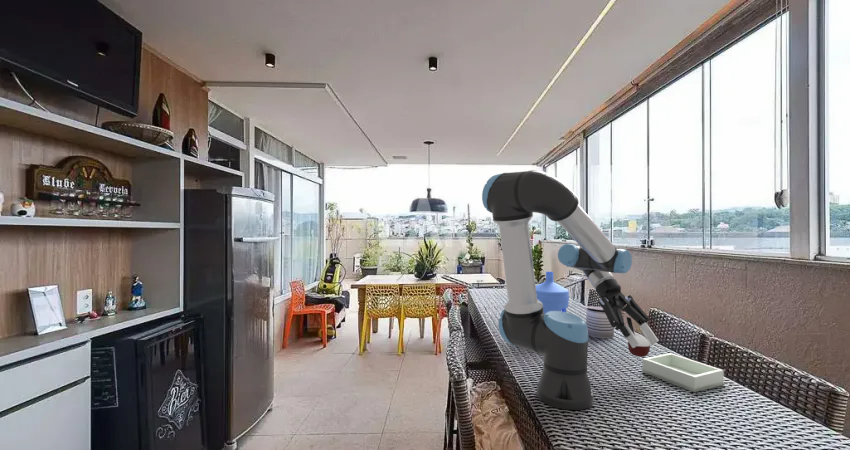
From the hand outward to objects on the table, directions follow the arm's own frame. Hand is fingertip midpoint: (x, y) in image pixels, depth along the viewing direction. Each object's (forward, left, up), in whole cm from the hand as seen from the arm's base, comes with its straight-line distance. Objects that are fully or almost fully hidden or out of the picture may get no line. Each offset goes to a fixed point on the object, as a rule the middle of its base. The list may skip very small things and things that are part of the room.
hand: (645, 344), depth 126 cm
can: (+30, +44, -13) cm, 55 cm away
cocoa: (+1, +3, -5) cm, 6 cm away
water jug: (+5, +48, -12) cm, 50 cm away
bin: (+15, -2, -12) cm, 19 cm away
